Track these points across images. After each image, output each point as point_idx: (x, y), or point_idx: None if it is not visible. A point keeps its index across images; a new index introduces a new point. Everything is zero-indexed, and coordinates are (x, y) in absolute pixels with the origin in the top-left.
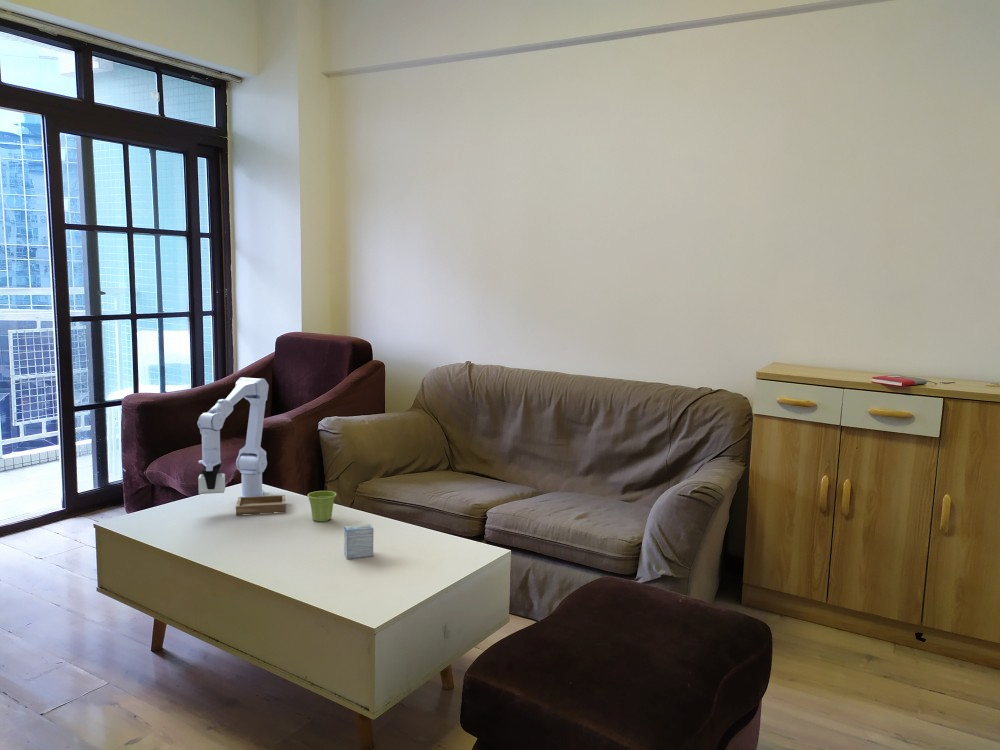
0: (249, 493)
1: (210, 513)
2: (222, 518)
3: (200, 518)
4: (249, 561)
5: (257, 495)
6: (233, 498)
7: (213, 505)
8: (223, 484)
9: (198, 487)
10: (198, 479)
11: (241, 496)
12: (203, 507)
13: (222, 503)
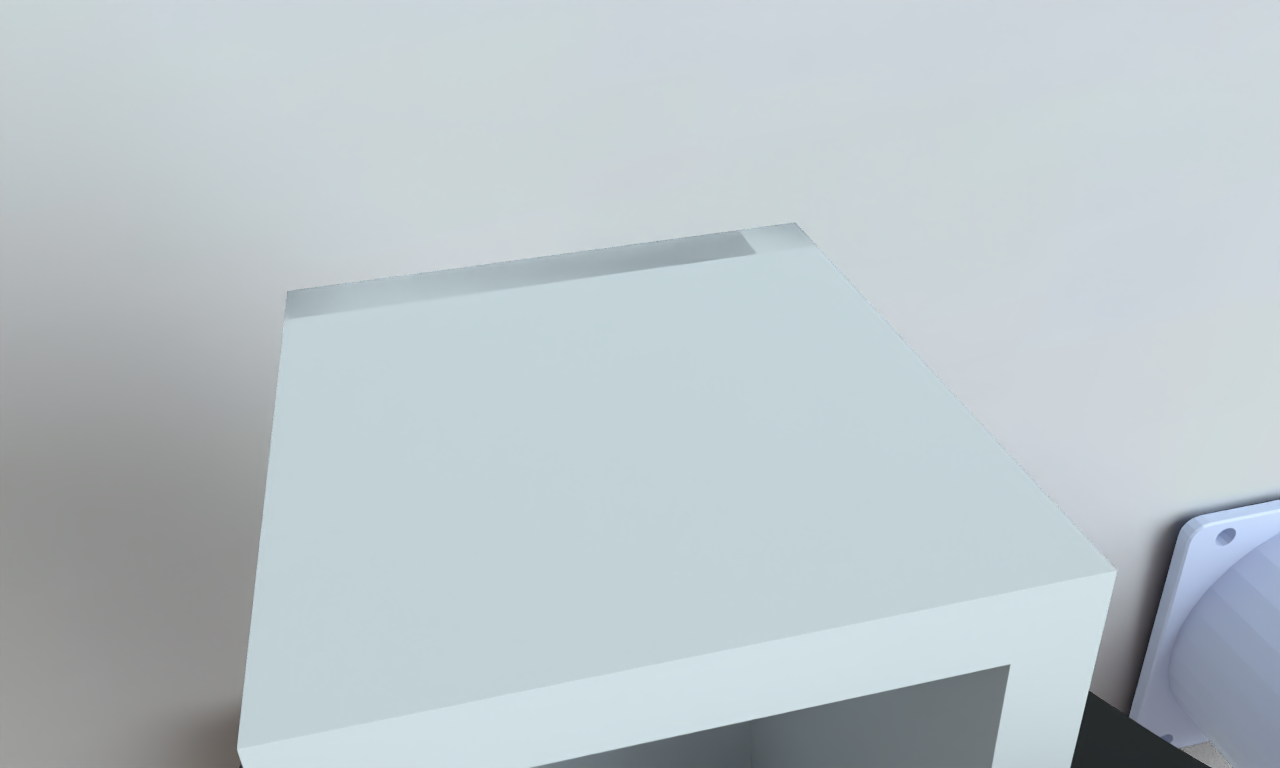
0: (1213, 666)
1: None
2: (115, 546)
3: (76, 162)
4: None
5: (1181, 709)
6: (1263, 414)
7: (974, 204)
8: None
9: (280, 418)
10: (254, 690)
11: (1246, 530)
12: (893, 44)
13: (1048, 324)
